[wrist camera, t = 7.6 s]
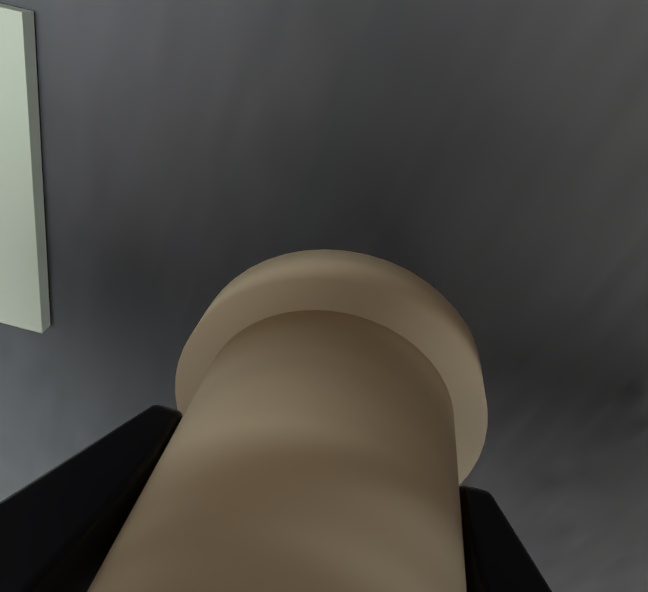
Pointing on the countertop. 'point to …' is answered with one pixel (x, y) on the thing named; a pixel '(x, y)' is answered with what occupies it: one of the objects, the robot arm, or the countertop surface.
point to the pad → (21, 178)
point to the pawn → (313, 439)
